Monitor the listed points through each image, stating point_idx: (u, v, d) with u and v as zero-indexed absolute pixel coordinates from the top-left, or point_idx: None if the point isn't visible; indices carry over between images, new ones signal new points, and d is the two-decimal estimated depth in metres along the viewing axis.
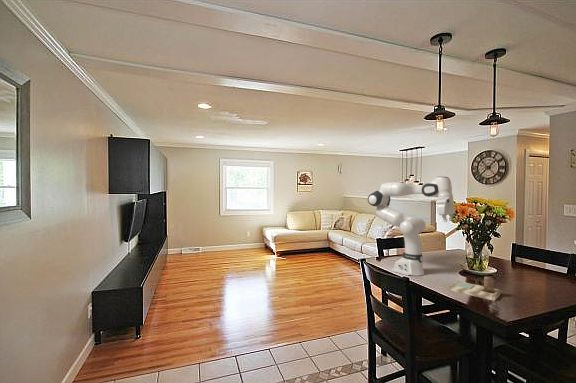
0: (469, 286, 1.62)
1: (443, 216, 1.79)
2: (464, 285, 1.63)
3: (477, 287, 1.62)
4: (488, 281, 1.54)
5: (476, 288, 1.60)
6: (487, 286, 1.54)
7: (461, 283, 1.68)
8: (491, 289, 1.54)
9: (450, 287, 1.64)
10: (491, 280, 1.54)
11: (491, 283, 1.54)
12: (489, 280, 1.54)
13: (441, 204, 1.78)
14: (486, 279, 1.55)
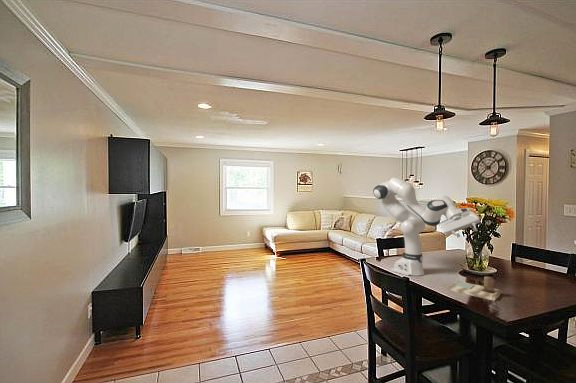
0: (469, 286, 1.62)
1: None
2: (464, 285, 1.63)
3: (477, 287, 1.62)
4: (488, 281, 1.54)
5: (476, 288, 1.60)
6: (487, 286, 1.54)
7: (461, 283, 1.68)
8: (491, 289, 1.54)
9: (450, 287, 1.64)
10: (491, 280, 1.54)
11: (491, 283, 1.54)
12: (489, 280, 1.54)
13: None
14: (486, 279, 1.55)
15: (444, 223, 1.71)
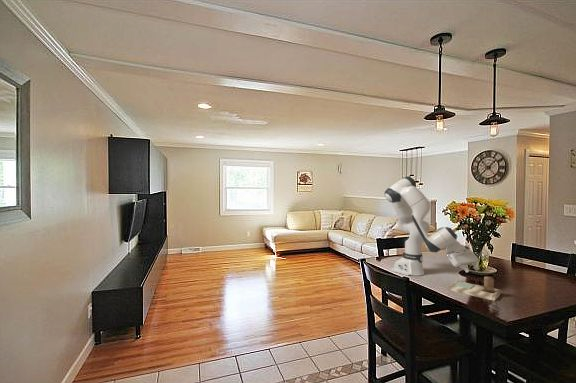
0: (469, 286, 1.62)
1: None
2: (464, 285, 1.63)
3: (477, 287, 1.62)
4: (488, 281, 1.54)
5: (476, 288, 1.60)
6: (487, 286, 1.54)
7: (461, 283, 1.68)
8: (491, 289, 1.54)
9: (450, 287, 1.64)
10: (491, 280, 1.54)
11: (491, 283, 1.54)
12: (489, 280, 1.54)
13: None
14: (486, 279, 1.55)
15: (454, 254, 1.65)
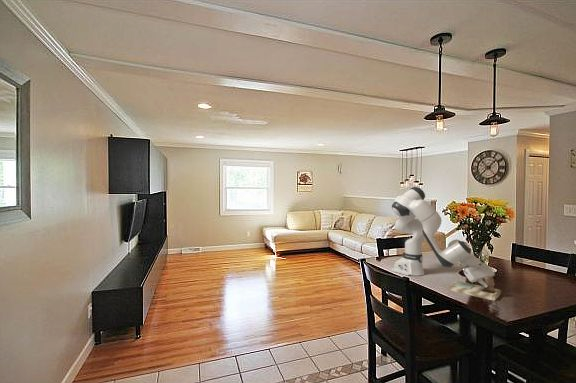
0: (469, 286, 1.62)
1: None
2: (464, 285, 1.63)
3: (477, 287, 1.62)
4: (488, 281, 1.54)
5: (476, 288, 1.60)
6: None
7: (461, 283, 1.68)
8: (491, 289, 1.54)
9: (450, 287, 1.64)
10: (491, 280, 1.54)
11: (491, 283, 1.54)
12: (489, 280, 1.54)
13: None
14: (486, 279, 1.55)
15: (470, 269, 1.58)
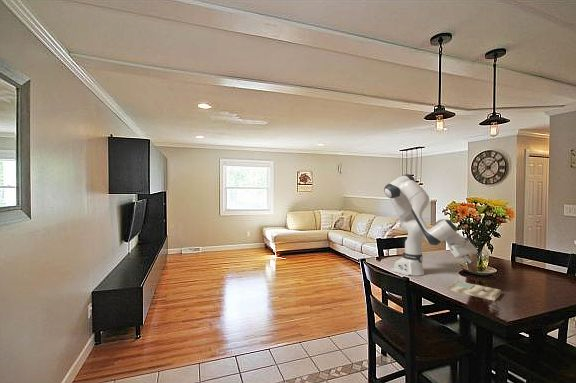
0: (469, 286, 1.62)
1: None
2: (464, 285, 1.63)
3: (477, 287, 1.62)
4: (472, 257, 1.62)
5: (476, 288, 1.60)
6: None
7: (461, 283, 1.68)
8: (475, 265, 1.61)
9: (450, 287, 1.64)
10: (475, 256, 1.61)
11: (475, 259, 1.61)
12: (473, 256, 1.61)
13: None
14: (470, 255, 1.62)
15: (455, 246, 1.65)
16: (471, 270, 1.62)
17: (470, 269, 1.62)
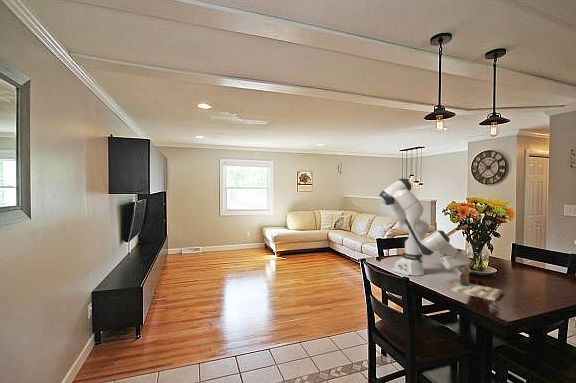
0: (469, 286, 1.62)
1: None
2: None
3: (477, 287, 1.62)
4: (464, 271, 1.63)
5: (476, 288, 1.60)
6: (463, 276, 1.64)
7: None
8: (466, 278, 1.63)
9: (450, 287, 1.64)
10: (466, 270, 1.63)
11: (466, 272, 1.63)
12: (464, 270, 1.63)
13: None
14: (462, 269, 1.64)
15: (447, 257, 1.67)
16: (463, 284, 1.64)
17: (462, 283, 1.64)
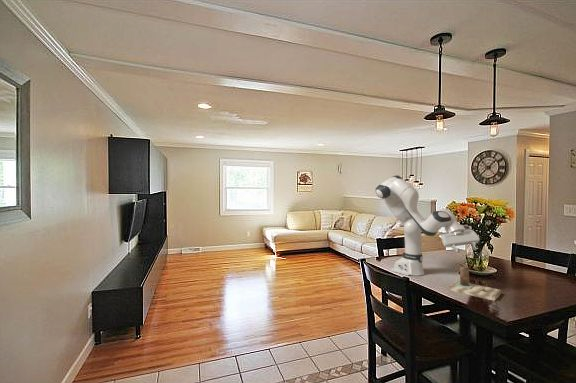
0: (469, 286, 1.62)
1: None
2: None
3: (477, 287, 1.62)
4: (464, 271, 1.63)
5: (476, 288, 1.60)
6: (463, 276, 1.63)
7: None
8: (466, 279, 1.63)
9: (450, 287, 1.64)
10: (466, 270, 1.63)
11: (466, 273, 1.63)
12: (464, 270, 1.63)
13: None
14: (462, 269, 1.64)
15: (446, 235, 1.69)
16: (463, 284, 1.64)
17: (462, 283, 1.64)
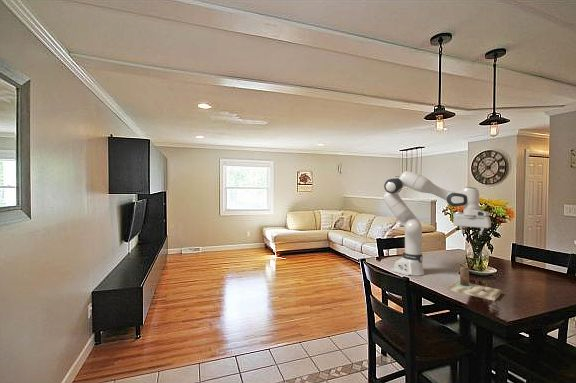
0: (469, 286, 1.62)
1: (483, 229, 1.73)
2: None
3: (477, 287, 1.62)
4: (464, 271, 1.63)
5: (476, 288, 1.60)
6: (463, 276, 1.63)
7: None
8: (466, 279, 1.63)
9: (450, 287, 1.64)
10: (466, 270, 1.63)
11: (466, 273, 1.63)
12: (464, 270, 1.63)
13: (487, 216, 1.71)
14: (462, 269, 1.64)
15: (457, 216, 1.82)
16: (463, 284, 1.64)
17: (462, 283, 1.64)
